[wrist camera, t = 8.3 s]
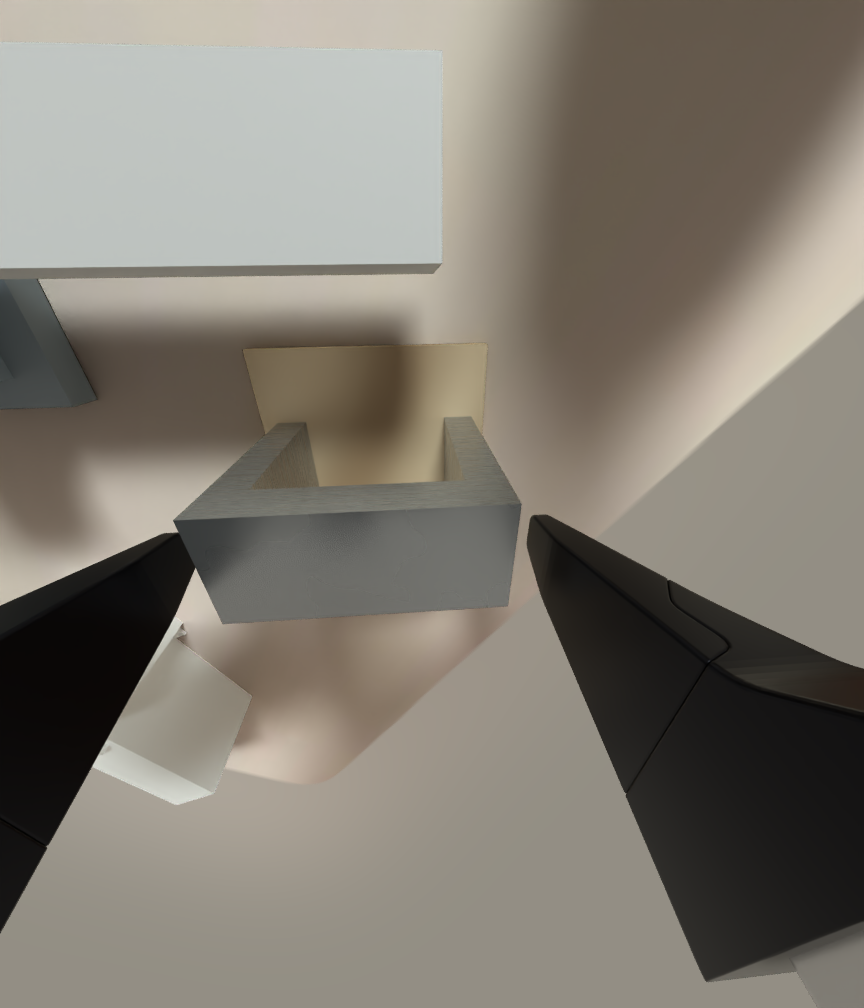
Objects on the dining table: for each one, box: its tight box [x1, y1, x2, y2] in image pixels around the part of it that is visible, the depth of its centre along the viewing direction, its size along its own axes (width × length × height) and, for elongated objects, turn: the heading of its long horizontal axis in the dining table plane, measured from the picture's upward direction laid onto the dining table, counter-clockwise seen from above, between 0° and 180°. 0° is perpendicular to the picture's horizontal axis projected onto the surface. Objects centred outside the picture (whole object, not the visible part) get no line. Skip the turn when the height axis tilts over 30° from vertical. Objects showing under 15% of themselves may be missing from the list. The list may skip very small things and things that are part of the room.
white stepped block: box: [92, 617, 252, 805], centre depth 16 cm, size 15×11×6 cm
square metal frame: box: [173, 416, 522, 624], centre depth 10 cm, size 3×7×6 cm, turn 91°
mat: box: [242, 343, 488, 487], centre depth 13 cm, size 8×8×1 cm
